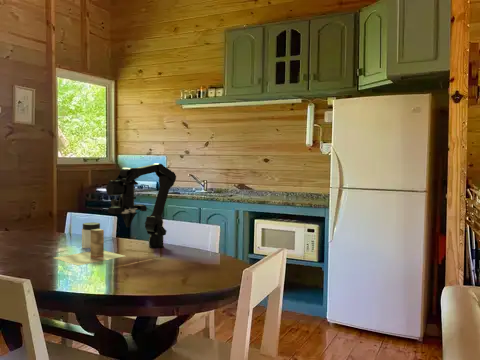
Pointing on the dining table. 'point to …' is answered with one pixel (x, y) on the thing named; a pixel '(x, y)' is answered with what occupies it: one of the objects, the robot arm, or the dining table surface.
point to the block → (97, 243)
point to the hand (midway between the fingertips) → (127, 227)
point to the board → (87, 258)
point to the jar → (88, 233)
